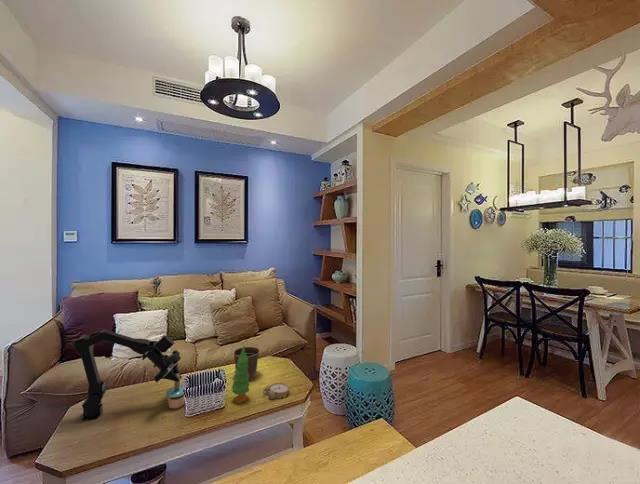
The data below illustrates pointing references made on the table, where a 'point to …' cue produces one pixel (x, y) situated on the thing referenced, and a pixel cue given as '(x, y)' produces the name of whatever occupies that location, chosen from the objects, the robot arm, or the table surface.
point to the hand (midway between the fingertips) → (179, 379)
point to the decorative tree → (241, 378)
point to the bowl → (176, 402)
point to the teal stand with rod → (175, 389)
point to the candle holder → (276, 390)
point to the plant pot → (249, 360)
